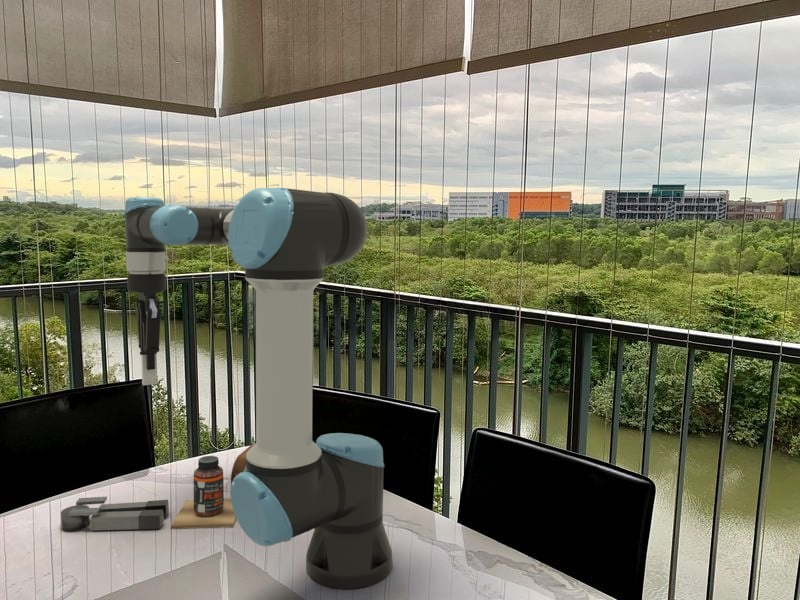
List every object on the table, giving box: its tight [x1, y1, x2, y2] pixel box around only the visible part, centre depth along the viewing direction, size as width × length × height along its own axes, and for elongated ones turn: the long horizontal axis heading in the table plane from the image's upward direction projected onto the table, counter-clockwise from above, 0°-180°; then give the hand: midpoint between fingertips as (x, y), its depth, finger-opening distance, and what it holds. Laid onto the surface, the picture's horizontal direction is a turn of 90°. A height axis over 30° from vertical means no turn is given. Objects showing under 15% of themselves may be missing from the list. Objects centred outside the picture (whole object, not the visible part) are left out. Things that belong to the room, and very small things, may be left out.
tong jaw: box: [75, 496, 170, 519], centre depth 123 cm, size 17×3×4 cm, turn 100°
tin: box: [230, 444, 255, 485], centre depth 141 cm, size 15×3×8 cm, turn 172°
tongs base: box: [60, 504, 165, 533], centre depth 120 cm, size 5×20×4 cm, turn 95°
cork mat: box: [170, 498, 237, 530], centre depth 126 cm, size 12×12×1 cm
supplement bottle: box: [193, 455, 225, 517], centre depth 125 cm, size 6×6×11 cm
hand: (149, 383), depth 128 cm, fingers closed
